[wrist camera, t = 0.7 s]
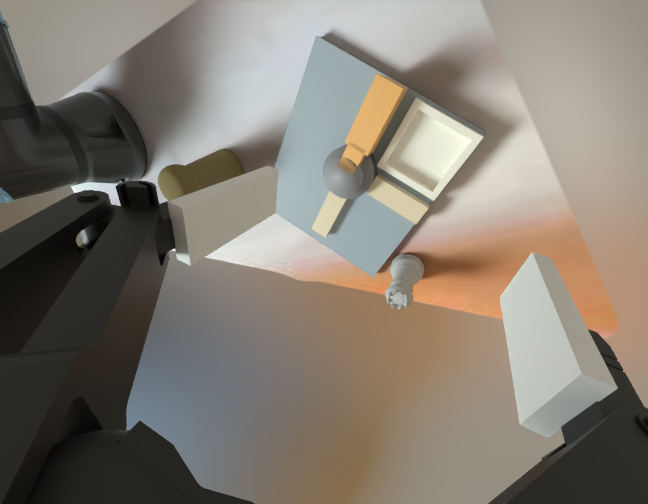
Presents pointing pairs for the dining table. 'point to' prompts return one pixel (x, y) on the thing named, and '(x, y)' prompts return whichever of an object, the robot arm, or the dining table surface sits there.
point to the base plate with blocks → (329, 142)
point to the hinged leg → (364, 136)
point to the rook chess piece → (403, 280)
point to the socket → (428, 149)
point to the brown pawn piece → (199, 174)
